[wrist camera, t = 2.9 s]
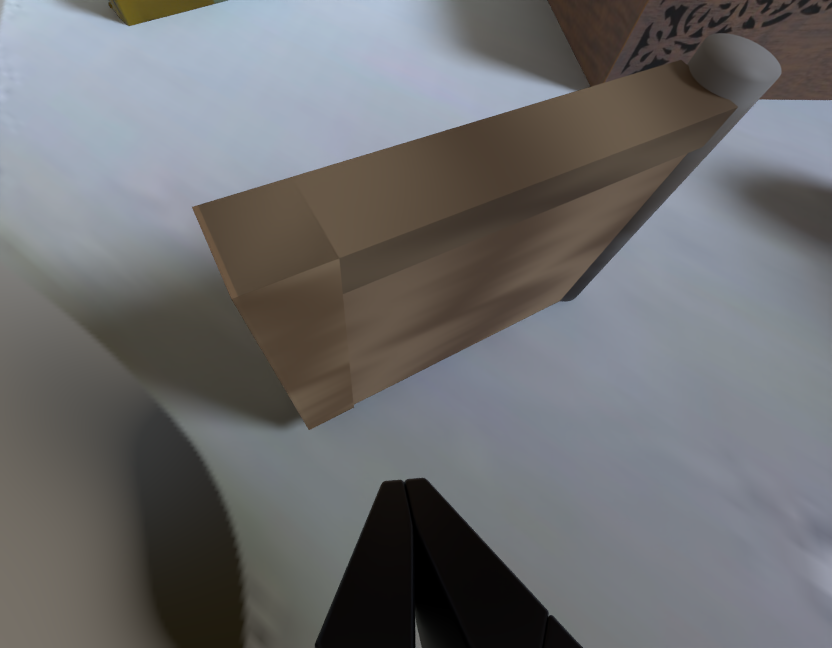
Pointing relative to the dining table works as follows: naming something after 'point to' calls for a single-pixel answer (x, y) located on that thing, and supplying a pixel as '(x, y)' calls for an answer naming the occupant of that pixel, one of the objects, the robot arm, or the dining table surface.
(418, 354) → the walnut gate
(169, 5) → the medication box
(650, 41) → the tissue box cover
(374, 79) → the dining table surface
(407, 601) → the robot arm
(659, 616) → the dining table surface
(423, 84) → the dining table surface
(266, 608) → the dining table surface
